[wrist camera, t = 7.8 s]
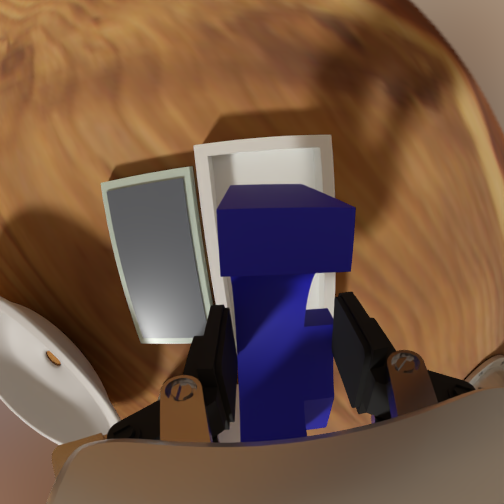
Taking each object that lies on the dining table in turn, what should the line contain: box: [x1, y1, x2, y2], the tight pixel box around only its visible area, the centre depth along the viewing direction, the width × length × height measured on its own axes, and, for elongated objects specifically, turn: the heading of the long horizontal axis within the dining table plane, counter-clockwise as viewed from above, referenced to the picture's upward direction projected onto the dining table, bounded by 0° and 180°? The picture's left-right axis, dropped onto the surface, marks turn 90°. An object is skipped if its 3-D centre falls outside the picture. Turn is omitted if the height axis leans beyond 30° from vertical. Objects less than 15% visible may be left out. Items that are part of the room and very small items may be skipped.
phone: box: [101, 166, 213, 344], centre depth 21 cm, size 7×14×1 cm, turn 5°
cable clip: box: [216, 184, 356, 442], centre depth 11 cm, size 12×4×6 cm, turn 1°
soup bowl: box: [0, 296, 121, 445], centre depth 22 cm, size 24×24×7 cm
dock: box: [194, 135, 336, 352], centre depth 20 cm, size 9×17×2 cm, turn 5°
